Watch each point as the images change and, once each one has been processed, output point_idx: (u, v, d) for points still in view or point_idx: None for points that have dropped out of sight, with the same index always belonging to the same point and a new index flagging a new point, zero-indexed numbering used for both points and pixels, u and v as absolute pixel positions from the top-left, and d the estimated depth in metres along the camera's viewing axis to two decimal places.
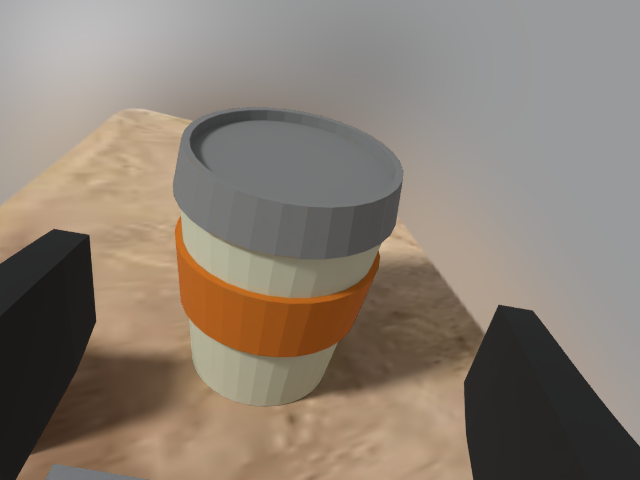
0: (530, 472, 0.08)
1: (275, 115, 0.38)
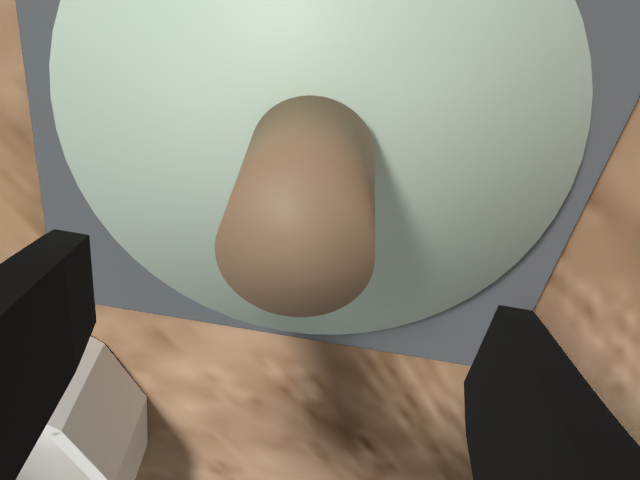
0: (530, 472, 0.08)
1: None
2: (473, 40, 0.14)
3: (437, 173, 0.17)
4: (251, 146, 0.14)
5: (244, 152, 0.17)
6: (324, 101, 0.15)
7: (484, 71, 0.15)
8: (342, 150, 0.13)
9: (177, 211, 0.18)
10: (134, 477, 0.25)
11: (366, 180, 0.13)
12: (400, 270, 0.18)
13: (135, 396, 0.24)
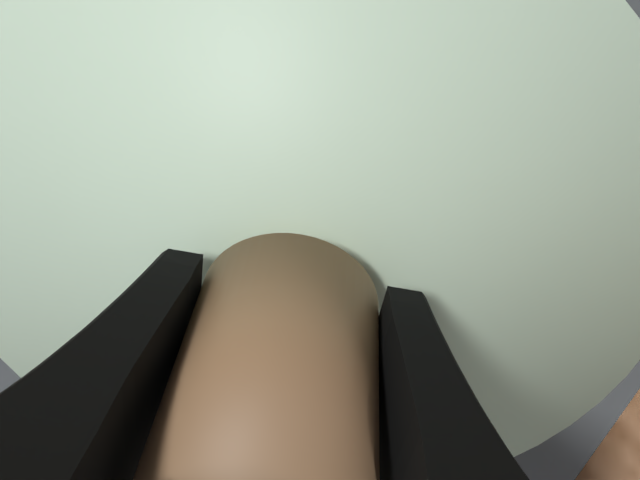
0: (393, 451, 0.08)
1: None
2: (525, 158, 0.10)
3: (465, 322, 0.12)
4: (193, 321, 0.09)
5: None
6: (304, 244, 0.10)
7: (539, 198, 0.10)
8: (329, 349, 0.08)
9: None
10: None
11: (366, 394, 0.08)
12: None
13: None
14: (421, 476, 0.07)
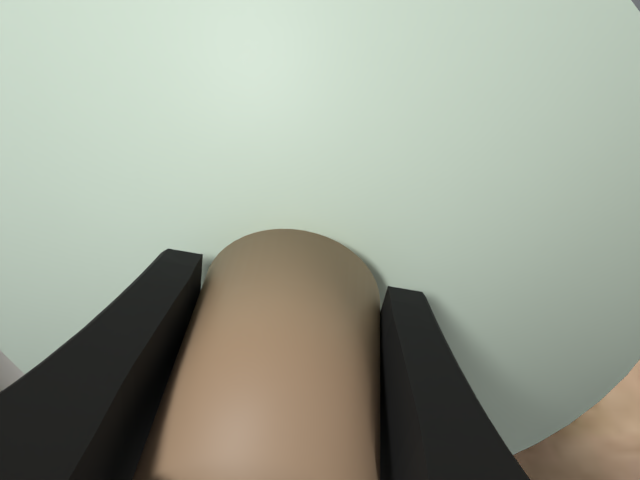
0: (394, 450, 0.08)
1: None
2: (528, 157, 0.10)
3: (466, 320, 0.12)
4: (196, 316, 0.09)
5: None
6: (307, 240, 0.10)
7: (542, 197, 0.10)
8: (331, 345, 0.08)
9: None
10: None
11: (368, 390, 0.08)
12: None
13: None
14: (422, 476, 0.07)
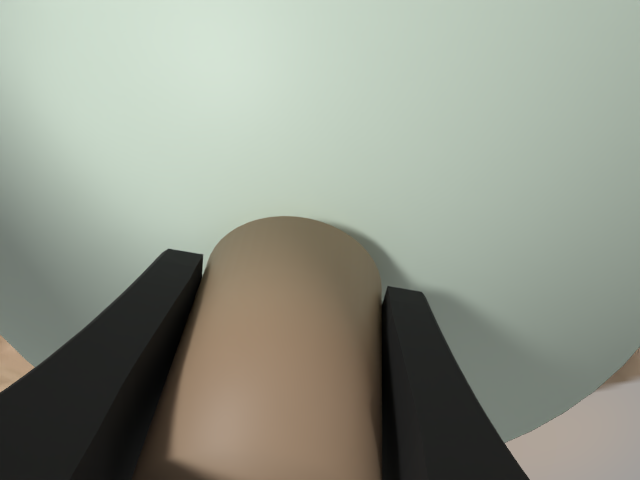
0: (393, 450, 0.08)
1: None
2: (534, 148, 0.10)
3: (466, 309, 0.12)
4: (198, 303, 0.09)
5: None
6: (310, 228, 0.10)
7: (546, 189, 0.10)
8: (335, 335, 0.08)
9: None
10: None
11: (370, 380, 0.08)
12: None
13: None
14: (421, 476, 0.07)
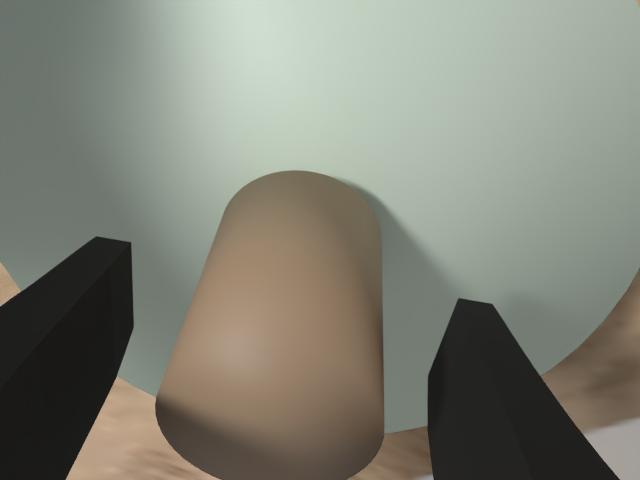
0: (480, 464, 0.08)
1: None
2: (518, 107, 0.11)
3: (459, 264, 0.13)
4: (217, 243, 0.10)
5: (213, 230, 0.13)
6: (318, 180, 0.11)
7: (530, 145, 0.11)
8: (341, 263, 0.09)
9: None
10: None
11: (373, 305, 0.09)
12: (406, 371, 0.15)
13: None
14: None
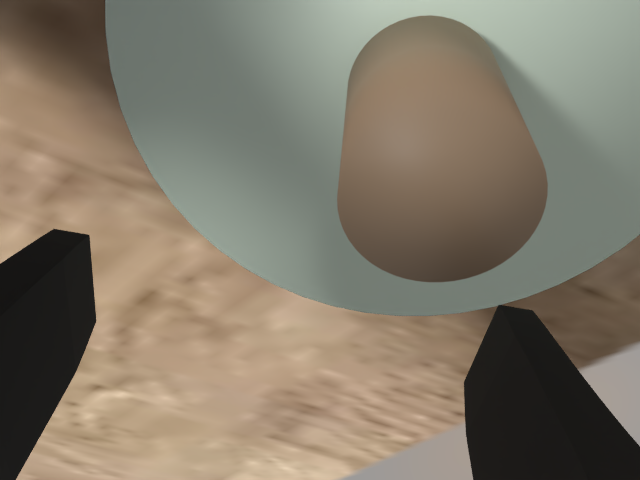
0: (531, 472, 0.08)
1: None
2: None
3: (575, 97, 0.13)
4: (356, 83, 0.11)
5: (337, 105, 0.14)
6: (435, 19, 0.12)
7: None
8: (478, 64, 0.10)
9: (264, 188, 0.15)
10: None
11: (512, 98, 0.10)
12: None
13: None
14: None
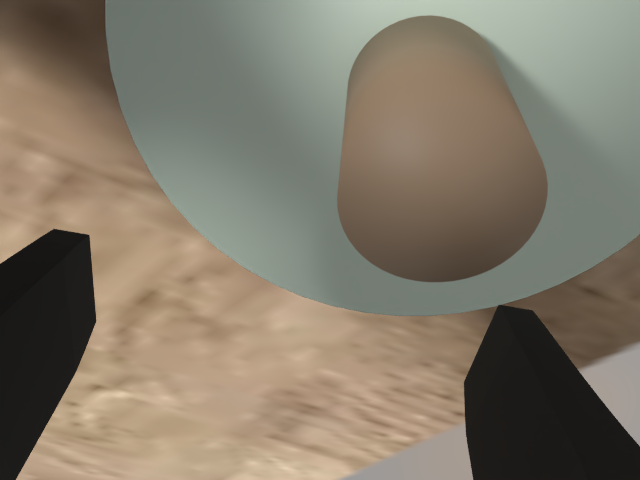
0: (530, 473, 0.08)
1: None
2: None
3: (575, 97, 0.13)
4: (356, 83, 0.11)
5: (337, 105, 0.14)
6: (435, 19, 0.12)
7: None
8: (478, 64, 0.10)
9: (264, 188, 0.15)
10: None
11: (512, 98, 0.10)
12: None
13: None
14: None
